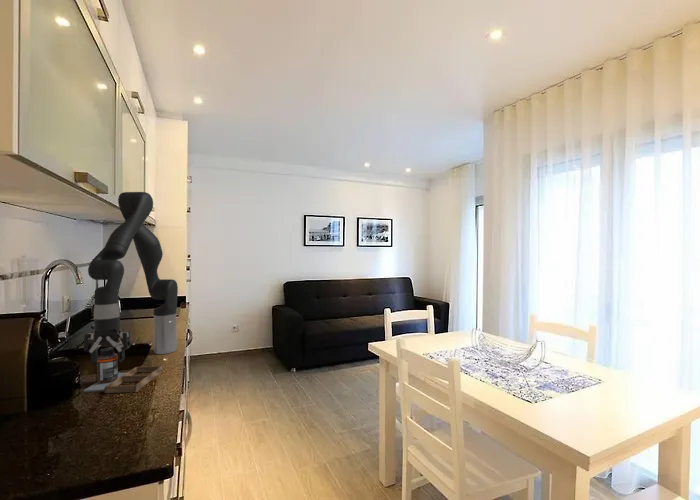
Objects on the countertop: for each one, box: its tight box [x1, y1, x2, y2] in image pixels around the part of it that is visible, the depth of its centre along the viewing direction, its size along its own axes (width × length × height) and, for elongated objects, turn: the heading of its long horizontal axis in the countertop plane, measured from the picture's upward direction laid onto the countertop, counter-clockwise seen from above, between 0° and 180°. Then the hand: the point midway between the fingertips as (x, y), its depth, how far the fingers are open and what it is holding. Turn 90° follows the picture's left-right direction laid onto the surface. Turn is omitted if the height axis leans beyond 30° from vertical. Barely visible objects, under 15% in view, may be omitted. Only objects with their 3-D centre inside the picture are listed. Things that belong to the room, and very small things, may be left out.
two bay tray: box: [104, 365, 164, 394], centre depth 124 cm, size 20×10×2 cm, turn 6°
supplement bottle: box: [96, 346, 119, 383], centre depth 123 cm, size 6×6×11 cm
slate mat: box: [83, 372, 127, 393], centre depth 123 cm, size 16×6×1 cm, turn 6°
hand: (107, 362), depth 123 cm, fingers open, 8 cm apart
